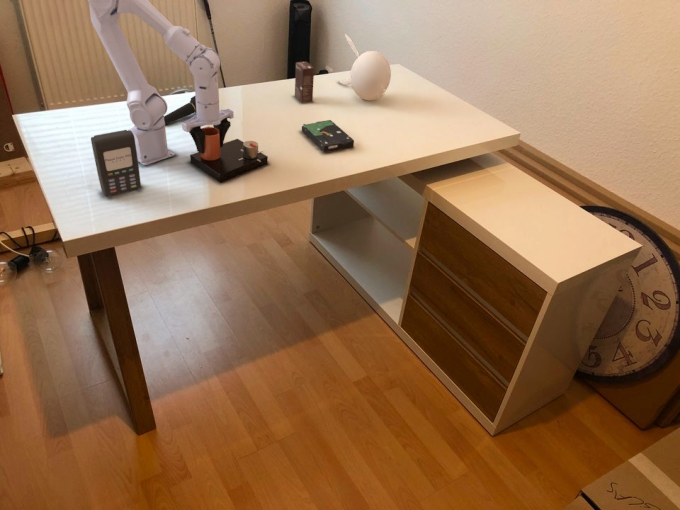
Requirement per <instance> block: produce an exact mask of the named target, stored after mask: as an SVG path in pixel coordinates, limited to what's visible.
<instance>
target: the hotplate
mask: <svg viewBox="0 0 680 510" xmlns="http://www.w3.org/2000/svg"><path fill="white" fill-rule="evenodd" d="M244 142H245V141H242V140H241V139H239V138H234V139H232V140H230V141H227V142H223V146H222V147H221V156H220V158H218V159H216V160H205V159H203V158H201V156H200V153H199V152H198V151H197V152H194V153H191V154H190V155H189V158H190V160H189V161H190V164H191V165H193V166H194V167H196V168H197V169H199V170H200V171H202V172H203V173H205V174H206V175H208V176H209V177H210V178H212V179H213V180H215V181H217V182H218V183H220V184H221V183H224V182H226V181H229V180H232V179H235V178H237V177H240V176H242V175H244V174H247V173H249V172H252V171H254V170H257V169H260V168H262V167H265V166H267V165H268V163H269V162H268V159H269V157H268V155H266V154H265V153H263V152H264V151H263V150H258V157H257V158H255V159H247V158H245V157H244V156H243V143H244Z"/></svg>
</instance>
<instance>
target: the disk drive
mask: <svg viewBox="0 0 680 510" xmlns="http://www.w3.org/2000/svg"><path fill="white" fill-rule="evenodd" d="M301 132H302V134H304V136H306V138H308V139H309V140H310V141H311V142H312V143H313V144H314V145H315V146H316V147H317V148H318V149H319V150H320V151H321V152H322V153H332V152H337V151H343V150H348V149H352V148H354V146H355V140H354V138H353V137H351V136H350V135H349V134H347V132H345V131H344V130H343V129H342V128H341V127H340V126H338V125H337V124H336V123H335V122H334V121H333V120H332V119H328V120H320V121H316V122H311V123H306V124H305V123H303V124H302V126H301Z"/></svg>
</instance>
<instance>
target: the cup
mask: <svg viewBox="0 0 680 510" xmlns="http://www.w3.org/2000/svg"><path fill="white" fill-rule="evenodd" d="M201 128H202V131H204V132H206V135H205V140H204V153H203V154H201V153H200V156H201V158H203V159H205V160H216V159H218V158H220V156H221V148H220V131H219V130H218V129H217V128H214V126H204V127H201Z"/></svg>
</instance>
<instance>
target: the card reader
mask: <svg viewBox="0 0 680 510" xmlns="http://www.w3.org/2000/svg"><path fill="white" fill-rule="evenodd" d="M90 142H91V143H90V144H91V147H92V153H93V158H94V163H95V168H96V172H97V176H98V177H97V178H98V181H99V185H100V189H101V192H102V194H103V196H104V197H112V196H117V195H122V194H124V193H129V192H132V191H137V190H139V189H140V188H142V185H141V184H142V183H141V176H140V166H139V162H138V159H137V151H136V144H135V138H134V134H133V133H132V132H131V131H130V130H129V129H128V130H127V129H123V130H117V131H112V132H106V133H101V134H95V135H94V136H91V137H90Z"/></svg>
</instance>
